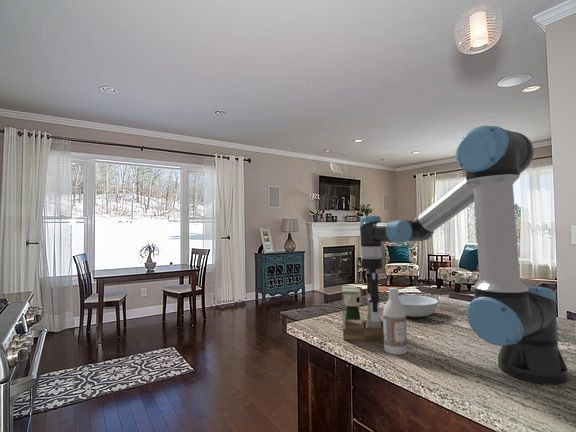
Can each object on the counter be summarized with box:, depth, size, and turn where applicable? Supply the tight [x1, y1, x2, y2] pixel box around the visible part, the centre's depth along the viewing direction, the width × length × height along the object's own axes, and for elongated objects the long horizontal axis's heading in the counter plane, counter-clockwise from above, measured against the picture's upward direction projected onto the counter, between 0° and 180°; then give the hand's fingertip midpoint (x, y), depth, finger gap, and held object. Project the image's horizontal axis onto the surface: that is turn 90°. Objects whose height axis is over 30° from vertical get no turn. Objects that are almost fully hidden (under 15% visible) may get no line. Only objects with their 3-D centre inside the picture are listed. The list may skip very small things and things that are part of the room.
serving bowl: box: [387, 294, 439, 318], centre depth 145 cm, size 21×21×7 cm
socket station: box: [341, 285, 384, 343], centre depth 119 cm, size 12×17×17 cm
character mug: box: [345, 288, 362, 320], centre depth 138 cm, size 11×7×13 cm, turn 158°
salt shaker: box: [366, 298, 382, 328], centre depth 118 cm, size 6×6×13 cm
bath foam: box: [382, 287, 408, 356], centre depth 104 cm, size 7×7×20 cm
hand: (373, 315), depth 118 cm, fingers open, 13 cm apart
